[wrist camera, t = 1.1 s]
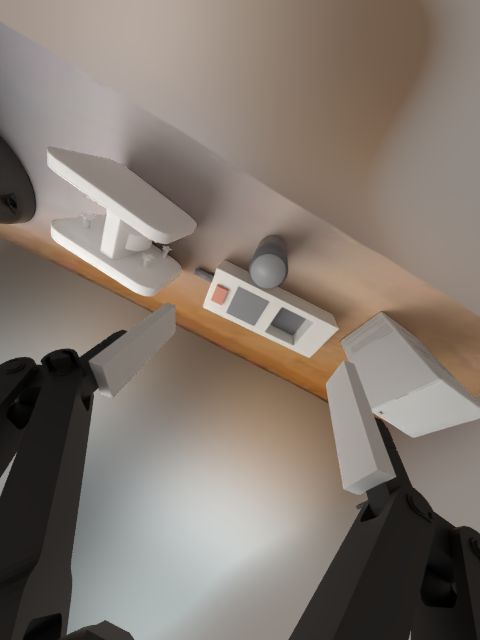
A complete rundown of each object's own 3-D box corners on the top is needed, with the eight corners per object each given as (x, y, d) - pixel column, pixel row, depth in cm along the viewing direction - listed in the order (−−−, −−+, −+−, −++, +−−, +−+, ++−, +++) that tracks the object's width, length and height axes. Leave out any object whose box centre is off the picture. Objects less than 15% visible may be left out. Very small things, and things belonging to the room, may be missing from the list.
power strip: (192, 287, 37) (180, 298, 32) (203, 249, 32) (191, 257, 28) (306, 342, 39) (309, 360, 34) (332, 314, 34) (339, 330, 30)
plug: (257, 236, 29) (246, 252, 21) (287, 234, 28) (289, 250, 20) (258, 265, 32) (249, 290, 23) (286, 264, 31) (287, 290, 22)
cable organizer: (207, 226, 30) (171, 239, 20) (182, 275, 36) (145, 304, 26) (120, 159, 27) (33, 139, 18) (108, 225, 33) (38, 236, 23)
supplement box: (370, 362, 38) (412, 440, 26) (338, 340, 37) (366, 411, 25) (417, 336, 33) (495, 417, 21) (382, 309, 32) (444, 380, 20)
